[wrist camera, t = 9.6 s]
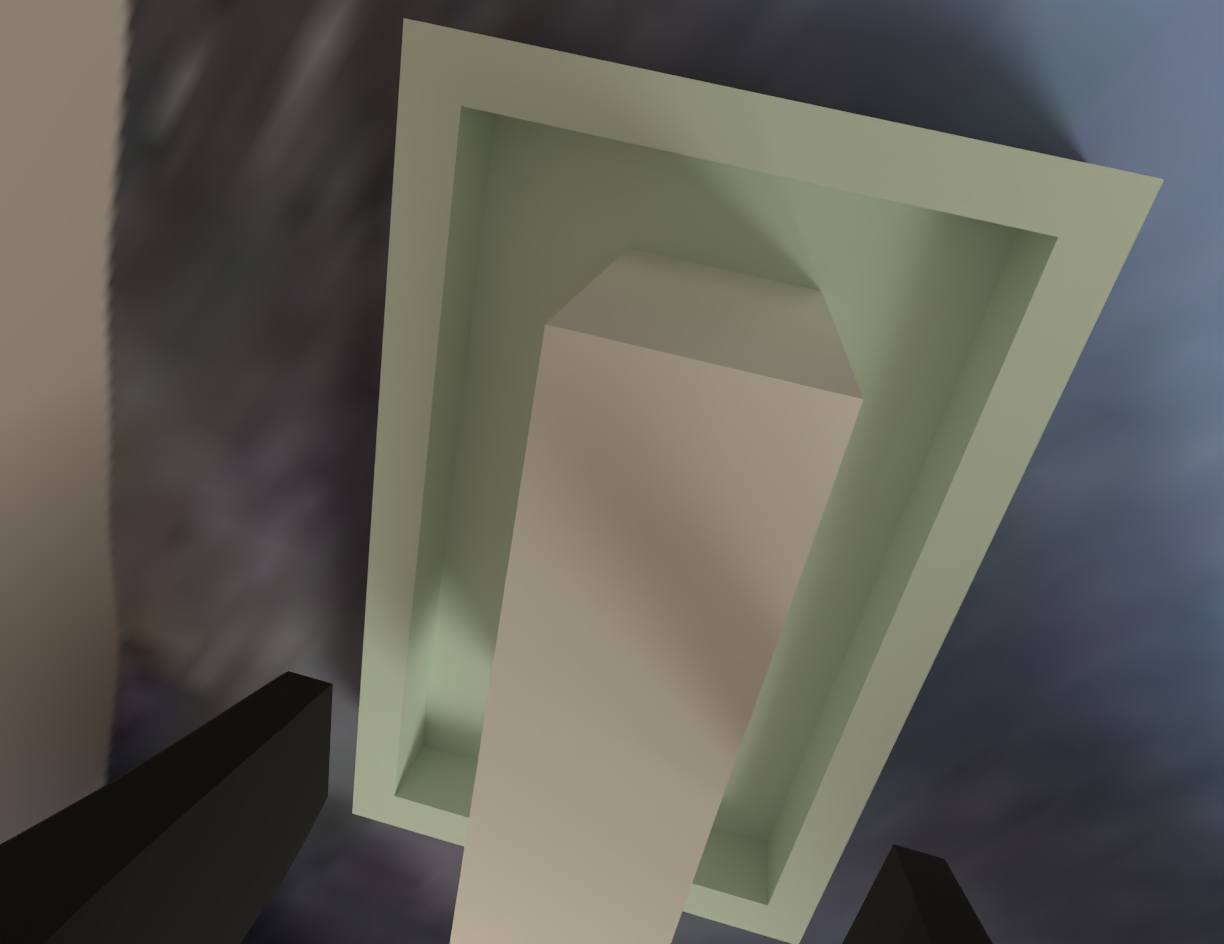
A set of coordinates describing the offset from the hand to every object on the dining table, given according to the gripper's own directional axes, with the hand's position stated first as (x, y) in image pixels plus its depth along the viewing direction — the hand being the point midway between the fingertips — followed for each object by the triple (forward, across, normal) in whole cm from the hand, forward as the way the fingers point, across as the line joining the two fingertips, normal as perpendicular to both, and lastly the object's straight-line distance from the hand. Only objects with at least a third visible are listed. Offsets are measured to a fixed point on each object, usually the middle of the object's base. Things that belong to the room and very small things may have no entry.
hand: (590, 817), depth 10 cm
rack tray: (+8, 0, 0) cm, 8 cm away
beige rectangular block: (+7, 0, 0) cm, 7 cm away
